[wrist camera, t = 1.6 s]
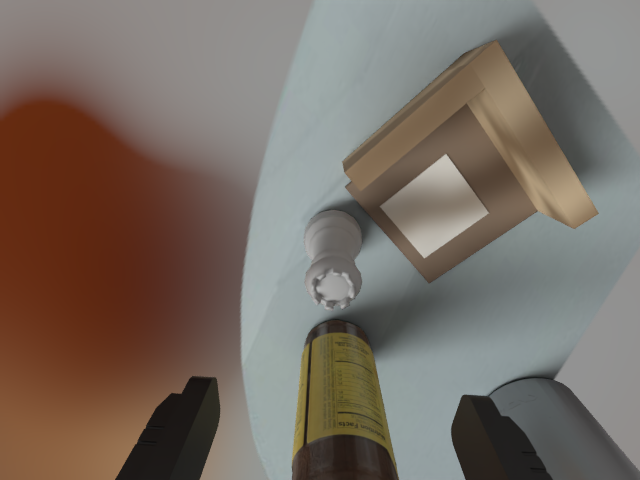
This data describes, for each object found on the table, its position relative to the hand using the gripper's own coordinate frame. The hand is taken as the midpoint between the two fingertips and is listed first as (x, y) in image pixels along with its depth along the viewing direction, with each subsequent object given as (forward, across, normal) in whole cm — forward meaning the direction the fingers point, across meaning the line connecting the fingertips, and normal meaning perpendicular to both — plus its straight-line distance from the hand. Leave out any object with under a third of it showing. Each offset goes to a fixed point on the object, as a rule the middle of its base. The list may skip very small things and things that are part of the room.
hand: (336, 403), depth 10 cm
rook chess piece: (+15, 0, 0) cm, 15 cm away
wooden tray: (+15, -8, -4) cm, 17 cm away
